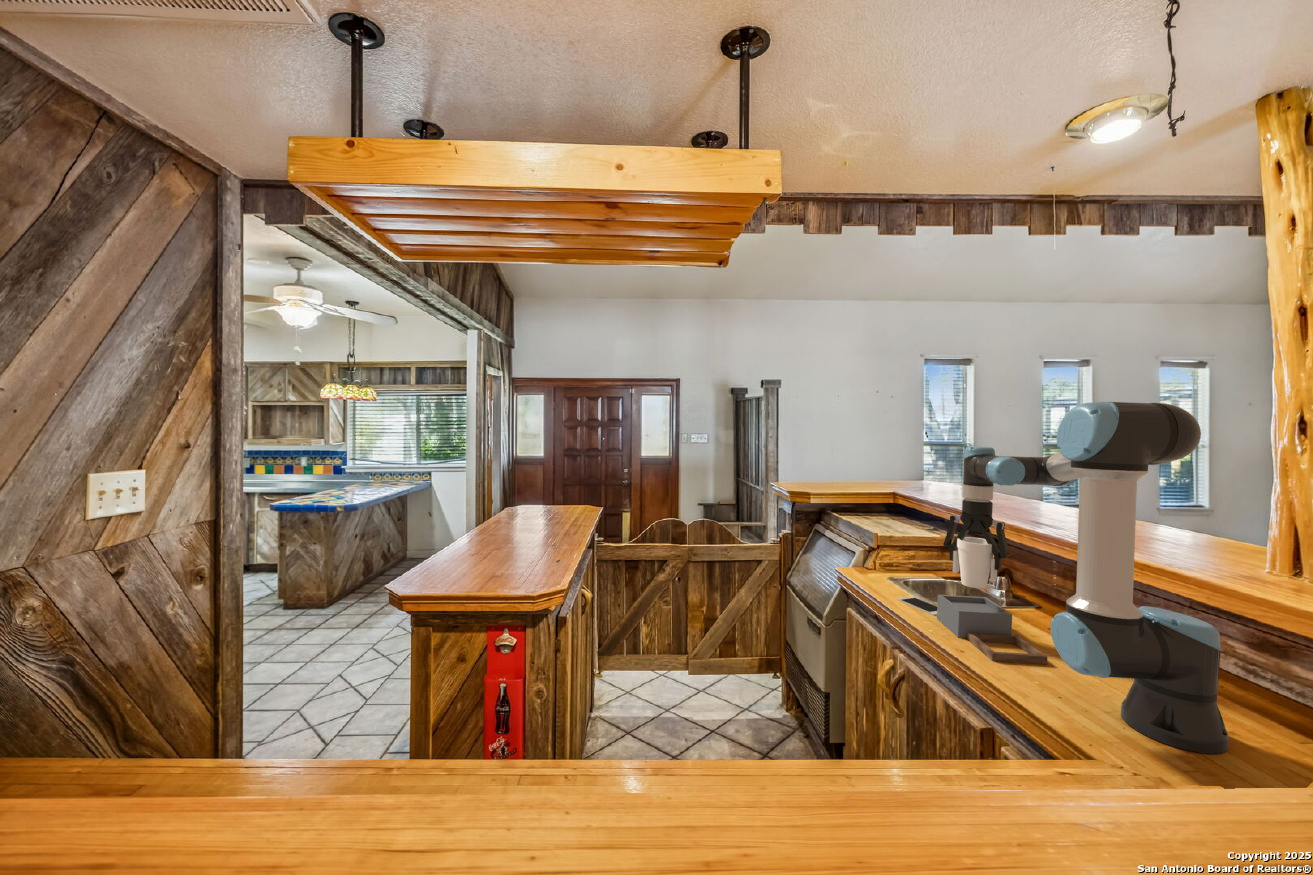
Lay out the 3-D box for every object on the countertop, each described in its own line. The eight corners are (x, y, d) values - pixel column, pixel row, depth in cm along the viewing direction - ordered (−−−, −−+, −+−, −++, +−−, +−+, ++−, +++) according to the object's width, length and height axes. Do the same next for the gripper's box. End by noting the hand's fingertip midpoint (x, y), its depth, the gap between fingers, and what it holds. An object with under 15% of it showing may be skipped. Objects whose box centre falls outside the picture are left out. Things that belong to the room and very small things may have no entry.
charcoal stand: (1011, 640, 145) (1012, 614, 145) (958, 637, 146) (959, 611, 146) (985, 621, 159) (986, 597, 158) (936, 618, 160) (937, 594, 160)
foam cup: (949, 579, 157) (950, 536, 157) (980, 580, 157) (982, 537, 156) (966, 589, 148) (968, 544, 147) (1000, 590, 147) (1002, 545, 147)
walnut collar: (1047, 664, 131) (1047, 656, 131) (992, 660, 132) (992, 652, 132) (1017, 642, 144) (1017, 635, 144) (967, 639, 145) (967, 632, 145)
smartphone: (933, 616, 163) (933, 613, 163) (895, 600, 177) (896, 597, 177) (951, 614, 165) (951, 611, 165) (912, 598, 180) (912, 595, 180)
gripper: (1026, 504, 145) (1022, 583, 146) (943, 494, 162) (940, 565, 163) (1017, 506, 140) (1013, 588, 141) (932, 495, 157) (929, 569, 158)
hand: (974, 576), depth 152 cm, fingers closed on foam cup, 9 cm apart
